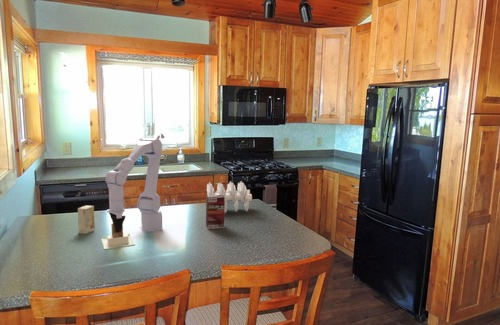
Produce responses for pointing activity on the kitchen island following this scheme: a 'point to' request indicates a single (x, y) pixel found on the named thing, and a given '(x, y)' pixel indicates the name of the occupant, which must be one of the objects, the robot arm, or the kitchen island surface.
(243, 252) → the kitchen island surface
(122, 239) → the base brick
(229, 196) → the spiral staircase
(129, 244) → the plate
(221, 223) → the supplement box
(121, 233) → the walnut brick
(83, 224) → the skincare box
